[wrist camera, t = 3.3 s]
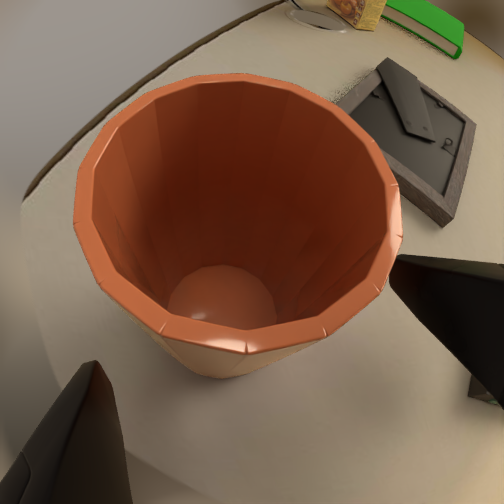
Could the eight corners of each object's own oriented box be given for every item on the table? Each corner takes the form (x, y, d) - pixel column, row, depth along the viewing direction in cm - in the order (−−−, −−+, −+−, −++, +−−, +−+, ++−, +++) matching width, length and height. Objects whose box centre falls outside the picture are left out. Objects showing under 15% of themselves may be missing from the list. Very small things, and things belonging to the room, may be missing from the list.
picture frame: (381, 69, 32) (313, 132, 25) (387, 57, 30) (320, 115, 23) (470, 132, 30) (442, 227, 23) (478, 121, 28) (456, 216, 21)
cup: (238, 401, 16) (309, 431, 4) (138, 330, 17) (17, 207, 5) (301, 303, 19) (428, 162, 7) (207, 242, 20) (212, 49, 8)
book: (349, 1, 43) (353, -11, 41) (383, -11, 55) (387, -19, 52) (456, 60, 40) (463, 49, 38) (460, 33, 52) (465, 25, 49)
